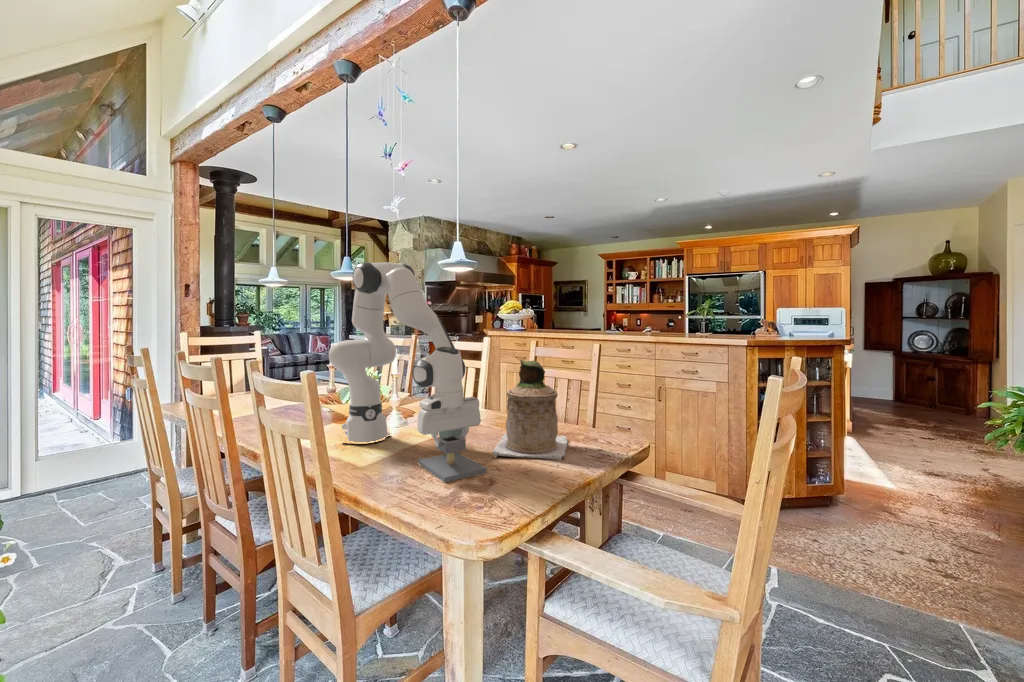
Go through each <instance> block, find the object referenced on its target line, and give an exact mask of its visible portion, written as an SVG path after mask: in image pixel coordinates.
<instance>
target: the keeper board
mask: <svg viewBox="0 0 1024 682" xmlns="http://www.w3.org/2000/svg"><path fill="white" fill-rule="evenodd" d="M418 463H419V464H420V465H421V466H423V467H424V468H425V469H426V470H425V469H424V468H423V469H424V470H425V471H427V470H428V471H429V472H431V473H432V474H433V475H432V474H431V473H430V474H431V475H432V476H434V475H435V476H436V477H435V476H434V477H435V478H437V477H438V478H439V479H441V480H442V481H443V482H442V481H441V480H440V481H441V482H442V483H444V482H447V483H449V482H448V481H451V482H454V481H453V480H455V481H458V479H459V480H463V479H467V478H466V477H468V478H470V477H469V476H472V477H475V476H474V475H476V476H479V475H478V474H480V475H483V473H484V474H487V473H488V471H487V470H488V469H487V466H485V465H484V466H483V465H482V464H480V463H478V462H476V461H474V460H473V459H471V458H469V457H468V456H465V455H463V454H461V453H459V452H453V453H448V454H445V453H444V454H440V455H436V456H435V455H434V456H432V457H431V456H430V457H426V458H420V459H417V464H418ZM421 466H420V467H421ZM428 471H427V472H428ZM429 472H428V473H429ZM438 478H437V479H438ZM462 478H463V479H462ZM439 479H438V480H439Z"/></svg>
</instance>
